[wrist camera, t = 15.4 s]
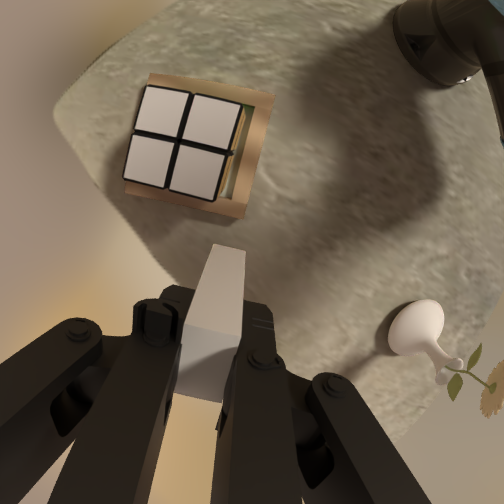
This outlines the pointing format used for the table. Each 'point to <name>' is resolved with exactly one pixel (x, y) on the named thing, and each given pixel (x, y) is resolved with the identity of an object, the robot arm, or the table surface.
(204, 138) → the puzzle cube
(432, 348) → the flower in vase
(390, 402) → the table surface
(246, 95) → the wooden picture frame
